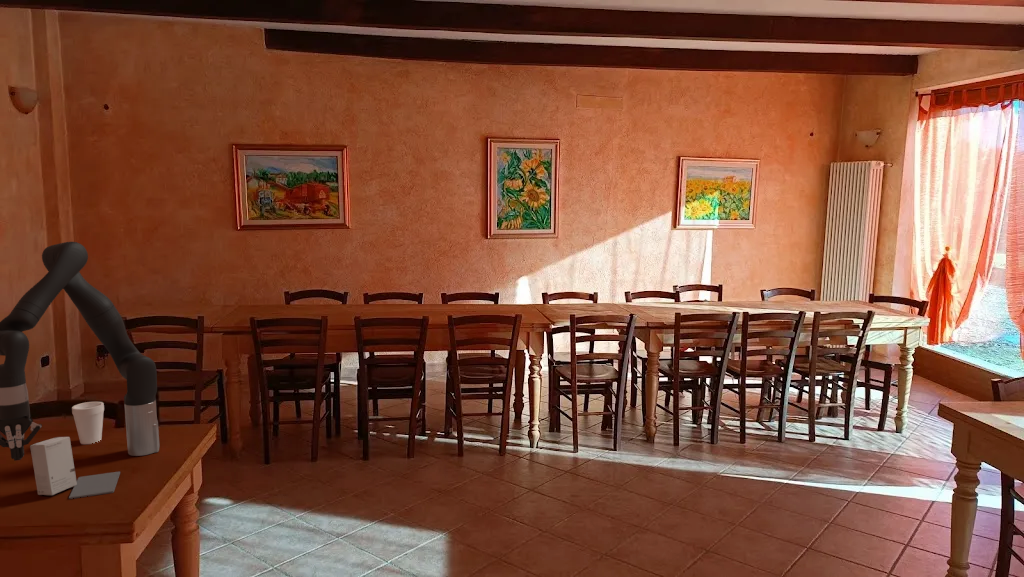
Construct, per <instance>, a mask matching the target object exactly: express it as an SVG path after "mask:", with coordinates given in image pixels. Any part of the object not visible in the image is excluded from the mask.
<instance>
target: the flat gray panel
mask: <svg viewBox="0 0 1024 577" xmlns="http://www.w3.org/2000/svg"><path fill="white" fill-rule="evenodd" d="M120 475H121V471H115V472H113V471H112V472H105V473H98V474H92V475H91V474H90V475H84V476H79V477H78V478H77V479H76V481H77V485H75V486H73V487H72V488H73V489H71V492H70V494H69V496H68V500H73V498H74V499H79V498H80V497H81V498H86V497H87V496H88V497H93V496H100V495H107V494H113V493H114V492H115V490H116V487H117V484H118V481H119V477H120Z"/></svg>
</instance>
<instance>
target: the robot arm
mask: <svg viewBox="0 0 1024 577" xmlns="http://www.w3.org/2000/svg"><path fill="white" fill-rule="evenodd" d="M88 258H89V254H88V250H87V249H86V247H85V246H84V245H83V244H81V243H79V242H76V241H66V242H60V243H57V244H53V245H50V246H47V247H46V248H44V249H43V251H42V254H41V259H42V260H41V261H42V263H43V265H44V267H45V269H46V271H47V272H46V274H45V275H44V276H43V277H42V278H41V279H40V280H39V281H38V282H36V283H35V284H34V285H33V286H32V287H31V288H29V290H27V291H26V292H25V293H24V294H23V295H22V296H21V298H20V299H19V300H18V301H17V303H16V305H15V306H14V307H13V308H12V310H11V312H9V314H8V315H6V317H4V318H3V319H2V320H0V356H4V357H5V358H4V362H3V363H1V364H0V433H2V434H3V435H4V436H6V438H5V437H4V436H3V435H2V434H0V446H1V448H9V449H10V450H9V451H10V458H11V459H12V460H14V461H21V460H22V459H23V457H25V448H24V446H26V445H29V443H30V442H31V441H32V440H33V439H34V437H35V436H36V435H37V433H39V431H40V429H41V428H42V427H43V425H42V424H41V423H36V422H34V421H33V418H32V416H31V410H30V409H31V408H30V401H29V390H28V386H27V381H26V371H25V370H26V365H27V360H28V355H29V351H30V340H29V338H28V336H27V335H26V334H25V333H24V332H26V331H29V330H32V329H33V328H35V327H36V326H37V324H38V323H39V322H40V320H41V318H42V317H43V316H44V314H45V312H46V311H47V310H48V308H49V306H50V305H51V304H52V303H53V301H55V299H56V297H58V295H59V294H60V293H61V291H63V290H64V292H65V293H66V295H67V297H69V299H70V301H71V302H72V303H73V305H74V306H75V307H76V309H77V310H78V311H79V313H80V314H81V316H82V318H83V320H84V321H85V322H86V324H87V325H88V327H89V328H90V329H91V331H92V332H93V333H94V335H95V336H96V338H97V339H98V340H99V342H100V343H101V344H102V345H103V346H104V348H105V349H106V350H107V351H108V353H109V355H110V357H111V358H112V362H114V365H115V366H116V368H117V370H118V372H119V374H120V376H121V377H122V378H124V379H125V380H126V394H124V397H123V402H124V404H123V405H124V417H125V429H126V443H127V454H128V455H129V456H133V457H134V456H135V457H138V456H140V457H141V456H147V455H151V454H153V453H158V452H159V451H160V436H159V435H160V431H159V420H158V417H157V399H156V395H157V392H158V373H157V367H156V363H155V360H153V359H152V358H151V357H149V356H147V355H144V354H142V353H141V352H140V351H139V350H138V348H137V347H136V346H135V345H134V343H133V342H132V340H131V338H130V337H129V335H128V333H127V329H126V325H125V323H124V320H123V317H122V315H121V314H120V312H119V311H118V309H117V308H116V306H115V304H114V303H113V301H112V300H111V299H110V297H108V296H106V295H105V294H104V293H103V292H101V291H100V290H99V289H97V288H96V287H94V286H93V285H91V283H89V282H88V281H87V280H86V279H85V278H84V276H83V275H82V274H81V272H80V271H81V270H82V269H83V268H84V267H85V266H86V264H87V262H88V260H89V259H88ZM29 428H30V433H29V435H28V436H27V437H26V438H25V434H26V432H27V431H28V429H29ZM24 438H25V439H24Z"/></svg>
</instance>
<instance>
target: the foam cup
mask: <svg viewBox="0 0 1024 577" xmlns="http://www.w3.org/2000/svg"><path fill="white" fill-rule="evenodd" d="M104 404H105V403H104V402H103V401H87V402H86V401H85V402H82V403H77V404H75V405H73V406H72V407H71V413H72V415H73V419H74V423H75V426H76V431H77V435H78V438H79V443H80V444H81V445H93V444H96V443H95V442H97V443H99V442H101V441H102V437H103V423H104V411H105V405H104ZM100 440H101V441H100ZM98 441H99V442H98ZM92 443H93V444H92Z"/></svg>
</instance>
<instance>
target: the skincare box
mask: <svg viewBox="0 0 1024 577" xmlns="http://www.w3.org/2000/svg"><path fill="white" fill-rule="evenodd" d="M71 444H72V443H71V438H70V436H56V437H53V438H50V439H46V440H43V441H40V442H36V443H34V444H31V445H30V446H29V448H30V453H31V458H32V459H31V460H32V465H33V470H34V478H35V485H36V492H37V495H39V496H42V495H44V496H55V495H56V494H58V493H61V492H63V491H65V490H67V489H71V488H74V486H75V485H77V476H76V468H75V464H74V458H73V457H74V456H73V450H72V445H71Z"/></svg>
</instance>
